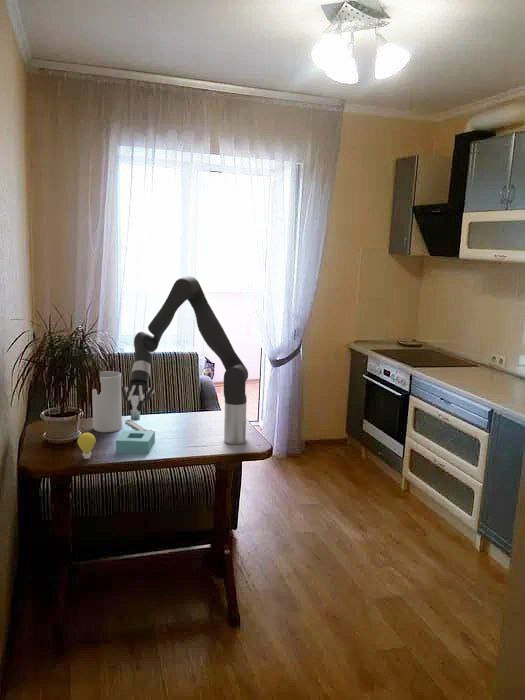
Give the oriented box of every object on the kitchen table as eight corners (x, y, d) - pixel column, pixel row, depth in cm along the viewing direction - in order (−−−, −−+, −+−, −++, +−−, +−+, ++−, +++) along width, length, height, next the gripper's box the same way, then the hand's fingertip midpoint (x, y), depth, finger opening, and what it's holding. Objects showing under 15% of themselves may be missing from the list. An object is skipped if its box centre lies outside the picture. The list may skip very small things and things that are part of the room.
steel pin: (140, 418, 230) (140, 394, 229) (138, 420, 227) (138, 396, 225) (132, 417, 230) (131, 394, 228) (129, 420, 227) (129, 396, 225)
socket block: (154, 442, 237) (154, 431, 236) (148, 453, 224) (148, 441, 223) (124, 441, 237) (123, 430, 236) (116, 452, 224) (115, 440, 223)
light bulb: (96, 460, 216) (95, 435, 214) (77, 461, 214) (77, 436, 212) (96, 454, 222) (95, 429, 220) (78, 455, 220) (77, 430, 218)
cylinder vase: (122, 423, 261) (121, 371, 256) (122, 432, 249) (121, 377, 244) (93, 425, 258) (92, 371, 253) (92, 433, 246) (91, 378, 241)
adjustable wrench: (124, 423, 263) (124, 419, 263) (138, 421, 267) (138, 417, 266) (141, 438, 242) (141, 434, 242) (156, 436, 245) (156, 432, 245)
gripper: (122, 368, 232) (114, 405, 223) (156, 369, 232) (150, 406, 223) (125, 378, 239) (118, 414, 229) (158, 379, 239) (153, 415, 229)
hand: (134, 410), depth 226 cm, fingers closed on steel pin, 3 cm apart
